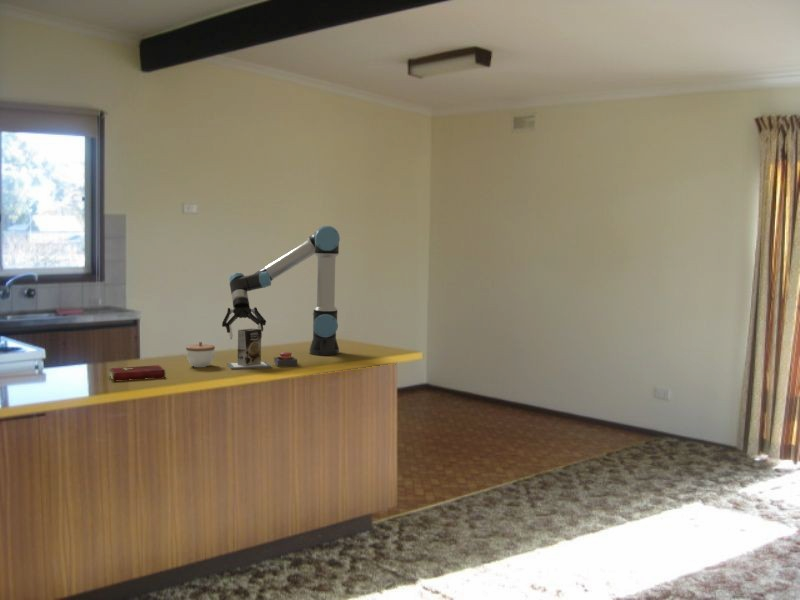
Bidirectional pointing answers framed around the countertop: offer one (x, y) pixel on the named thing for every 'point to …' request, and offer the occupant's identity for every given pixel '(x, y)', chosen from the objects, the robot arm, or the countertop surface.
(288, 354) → the button
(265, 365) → the board
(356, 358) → the countertop surface
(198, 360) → the lidded bowl
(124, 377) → the hardcover book
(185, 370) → the countertop surface
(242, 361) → the coffee box
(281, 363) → the button housing
